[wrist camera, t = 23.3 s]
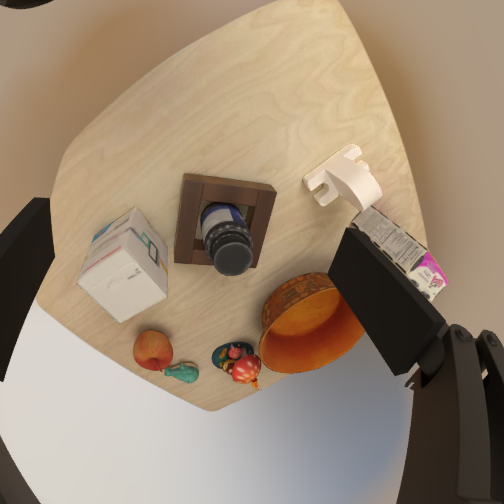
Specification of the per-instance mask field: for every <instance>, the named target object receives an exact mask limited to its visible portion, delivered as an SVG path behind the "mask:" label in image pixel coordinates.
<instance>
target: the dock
mask: <svg viewBox="0 0 504 504" xmlns="http://www.w3.org/2000/svg"><path fill="white" fill-rule="evenodd" d="M276 194H277V192H276V190H275V189H274V188H273V187H272V186H271V185H268V184H261V183H254V182H248V181H241V180H234V179H226V178H219V177H211V176H202V175H194V174H184V178H183V185H182V191H181V198H180V206H179V213H178V221H177V229H176V238H175V246H174V263H183V264H198V265H213V266H214V263H213V262H211V261H210V260H209V258H208V257H207V255H206V252H205V248H204V242H203V240H195V233H196V227H197V221H198V214H199V208H200V202H201V200H206V201H215V202H224V203H233V204H241V205H249V208H248V212H247V217H246V221H245V223H246V225H247V228H248V230H249V232H250V234H251V236H252V239H253V248H252V253H253V261H252V264H251V266H250V267H249V268H256V267H257V263H258V259H259V256H260V252H261V249H262V245H263V241H264V238H265V234H266V231H267V227H268V223H269V220H270V216H271V212H272V209H273V205H274V202H275V198H276Z"/></svg>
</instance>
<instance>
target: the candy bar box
mask: <svg viewBox="0 0 504 504" xmlns="http://www.w3.org/2000/svg"><path fill="white" fill-rule="evenodd" d="M351 223H352V224H353V225H354V226H355V227H356V228H357V229H359V230H360V231H361V232H362V233H363V234H364V235H365V236H366V237H367V238H368V239H369V240H370V241H371V242H372V243H373V244H374V245H375V246H376V247H377V248H378V249H379V250H380V251H381V252H382V253H383V254H384V255H385V256H386V257H387V258H388V259H389V260H390V261H391V262H392V263H393V264H394V265H395V266H396V267H397V268H398V269H399V270H400V271H401V272H402V273H403V274H404V275H405V276H406V277H407V278H408V279H409V280H410V281H411V282H412V283H413V285H414V286H415V287H416V288H417V289H418V290H419V291H420V292H421V293H422V294H423V295H424V296H425V297H426V298H427V299H428V300H429V301H430V302H431V301H432V300H433V299H434V298H435V297H436V296H437V295H438V294H439V293H440V291H441V290H442V289H443V288H444V287H445V286H446V285H447V283H448V282H449V280H448V279H447V277H446V276H445V274H444V273H443V271H442V270H441V268H440V267H439V265H438V264H437V262H436V261H435V259H434V258H433V256H432V255H431V253H430V252H429V250H427V249H426V248H425V247H424V246H423V245H421V244H420V243H419V242H418V241H416V240H415V239H414V238H413V237H412V236H410V235H409V234H408V233H407V232H405V231H404V230H403V229H401V228H400V227H399V226H398V225H396V224H395V223H394V222H392V221H391V220H390V219H388V218H387V217H386V216H385V215H383V214H382V213H381V212H379V211H378V210H377V209H375V208H374V207H373V206H370V207H368V208H367V209H366V210H365V211H363V212H360V213H359V214H358V215H357V216H356V217H355V219H354V220H353V221H352V222H351Z"/></svg>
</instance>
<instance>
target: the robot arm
mask: <svg viewBox="0 0 504 504" xmlns="http://www.w3.org/2000/svg"><path fill="white" fill-rule="evenodd" d="M54 258H55V253H54V245H53V236H52V225H51V213H50V198H36V197H35V198H33V199H32V200H31V201H30V202H29V203H28V204H27V205H26V206H25V207H24V208H23V209H22V210H21V212H20V213H19V214H18V215H17V216H16V217H15V218H14V219H13V220H12V221H11V222H10V224H9V225H8V226H7V227H6V228H5V229H4V230H3V232H2V233H1V234H0V381H1V382H3V381H4V378H5V374H6V371H7V368H8V365H9V362H10V359H11V356H12V353H13V350H14V347H15V345H16V342H17V339H18V337H19V334H20V331H21V329H22V326H23V324H24V321H25V319H26V317H27V314H28V312H29V310H30V307H31V305H32V303H33V300H34V298H35V296H36V294H37V292H38V290H39V288H40V285H41V283H42V281H43V279H44V277H45V275H46V273H47V271H48V269H49V267H50V266H51V264H52V262H53V260H54ZM327 276H328V277H329V278H330V280H331V281H332V283H333V284H334V285H335V287H336V288H337V290H338V291H339V293H340V294H341V296H342V297H343V298H344V300H345V301H346V303H347V304H348V306H349V307H350V309H351V310H352V312H353V313H354V315H355V316H356V318H357V319H358V320H359V322H360V323H361V325H362V326H363V328H364V329H365V331H366V332H367V334H368V335H369V337H370V338H371V340H372V342H373V343H374V345H375V346H376V348H377V349H378V351H379V352H380V354H381V355H382V357H383V358H384V360H385V362H386V363H387V365H388V366H389V368H390V369H391V371H392V372H393V374H394V375H395V376H397V375H400V374H404V373H408V371H409V370H410V369H411V368H412V366H413V365H414V364H415V363H416V362H417V363H418V365H419V366H420V367H419V368H418V370H417V371H416V372H415V373H414V374H413V375H412V377H411V378H410V379H409V380H408V381H407V382H406V384H405V387H408V386H409V384H410V383H411V382H414V384H413V385H412V386H411V388H410V389H412V390H414V396H413V408H412V418H411V427H410V435H409V442H408V448H407V455H406V460H405V466H404V471H403V476H402V481H401V486H400V490H399V494H398V498H397V503H396V504H504V347H503V345H502V343H501V342H500V340H499V339H498V337H497V336H496V334H495V333H493V332H492V331H488V330H483V331H482V332H481V334H480V335H479V336H478V338H477V339H476V338H473V336H472V335H471V334H470V333H469V332H468V331H467V330H466V329H465V328H464V327H462V326H460V325H457V324H452V325H451V326H450V327H449V326H448V325H447V323H446V320H445V319H444V318H443V317H442V316H441V314H440V313H439V312H438V311H437V310H436V309H435V308H434V307H433V305H432V304H431V303H430V302H429V301H428V300H427V299H426V298H425V296H424V295H423V294H422V293H421V292H420V291H419V290H418V289H417V288H416V287H415V286H414V285H413V283H412V282H411V281H410V280H409V279H408V278H407V277H406V276H405V275H404V274H403V273H402V272H401V271H400V270H399V269H398V268H397V267H396V266H395V265H394V264H393V263H392V262H391V261H390V260H389V259H388V258H387V257H386V256H385V255H384V254H383V253H382V252H381V251H380V250H379V249H378V248H377V247H376V246H375V245H374V244H373V243H372V242H371V241H370V240H369V239H368V238H367V237H366V236H365V235H364V234H363V233H362V232H361V231H360V230H359V229H353V228H347V227H346V229H345V232H344V235H343V237H342V240H341V242H340V245H339V247H338V250H337V252H336V255H335V257H334V260H333V262H332V264H331V267H330V269H329V272H328V274H327ZM485 369H487V372H488V375H487V376H486V377H485V378H484V379H483V380H482V375H481V374H482V373H483V371H484V370H485ZM0 504H41V503H40V502H39V500H38V499H37V498H36V496H35V495H34V493H33V492H32V490H31V489H30V487H29V486H28V484H27V483H26V481H25V479H24V478H23V476H22V475H21V473H20V471H19V470H18V468H17V466H16V465H15V463H14V461H13V459H12V457H11V455H10V454H9V452H8V450H7V448H6V446H5V444H4V442H3V440H2V438H1V436H0Z"/></svg>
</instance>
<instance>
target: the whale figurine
mask: <svg viewBox="0 0 504 504" xmlns="http://www.w3.org/2000/svg"><path fill="white" fill-rule="evenodd" d="M164 369H165V376H173V377H175V378H177V379H179V380H181V381H183V382H186V383H193V382H195V381H196V380H197V378H198V376H199V371H198V368H197V366H196V365H195V364H193V363H180V365H177V366H174V367H172V368H170V367H166V368H164Z"/></svg>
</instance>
